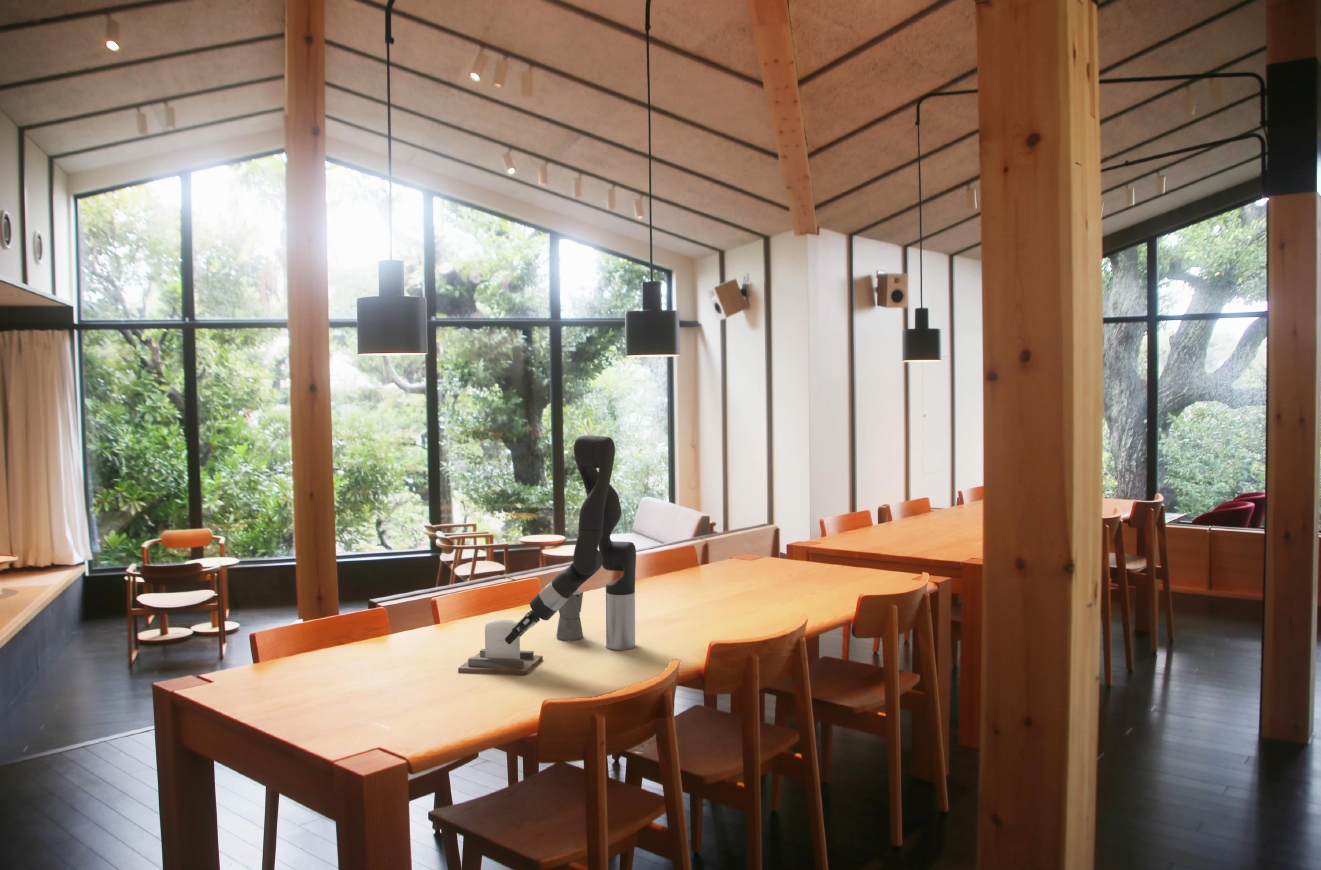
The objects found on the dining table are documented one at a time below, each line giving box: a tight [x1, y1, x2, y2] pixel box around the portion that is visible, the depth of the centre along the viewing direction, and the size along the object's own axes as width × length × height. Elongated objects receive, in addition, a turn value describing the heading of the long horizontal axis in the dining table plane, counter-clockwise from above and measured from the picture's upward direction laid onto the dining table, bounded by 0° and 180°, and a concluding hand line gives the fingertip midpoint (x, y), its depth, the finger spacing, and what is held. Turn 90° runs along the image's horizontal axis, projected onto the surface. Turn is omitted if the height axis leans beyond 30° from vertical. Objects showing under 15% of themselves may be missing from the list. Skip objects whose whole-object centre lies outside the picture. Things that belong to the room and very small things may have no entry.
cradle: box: [457, 648, 544, 676], centre depth 253 cm, size 16×20×3 cm
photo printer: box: [484, 618, 521, 659], centre depth 253 cm, size 10×4×12 cm, turn 85°
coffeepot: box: [555, 589, 584, 641], centre depth 286 cm, size 15×9×18 cm, turn 33°
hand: (512, 638), depth 252 cm, fingers open, 8 cm apart
